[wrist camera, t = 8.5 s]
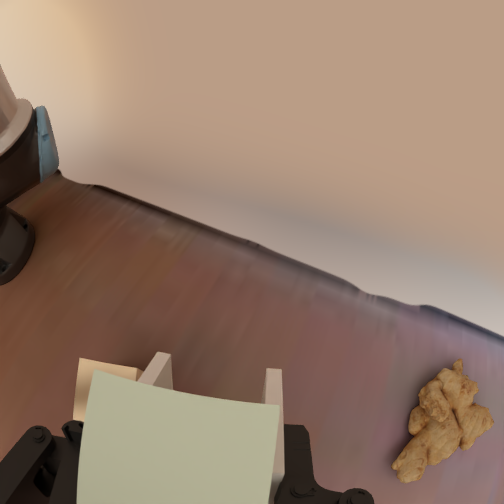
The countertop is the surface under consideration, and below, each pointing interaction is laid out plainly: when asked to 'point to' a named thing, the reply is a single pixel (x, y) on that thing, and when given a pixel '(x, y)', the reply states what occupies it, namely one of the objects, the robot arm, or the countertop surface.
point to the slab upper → (85, 381)
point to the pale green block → (173, 446)
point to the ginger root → (442, 423)
